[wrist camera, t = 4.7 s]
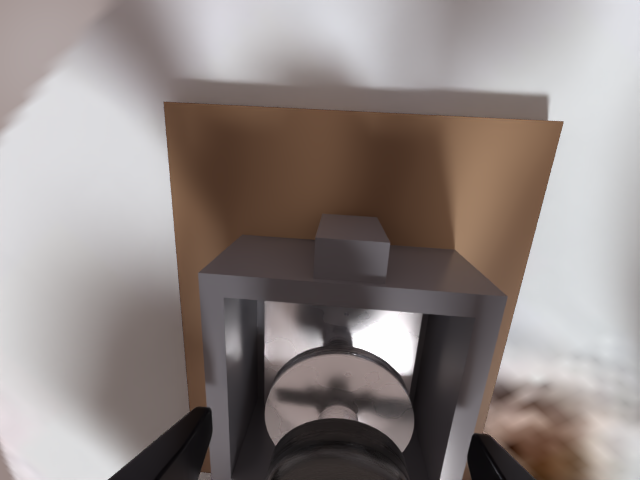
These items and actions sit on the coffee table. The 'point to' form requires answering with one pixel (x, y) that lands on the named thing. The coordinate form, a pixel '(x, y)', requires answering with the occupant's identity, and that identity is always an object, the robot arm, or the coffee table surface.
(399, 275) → the press
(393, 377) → the plunger
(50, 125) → the coffee table surface
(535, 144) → the board
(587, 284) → the coffee table surface
